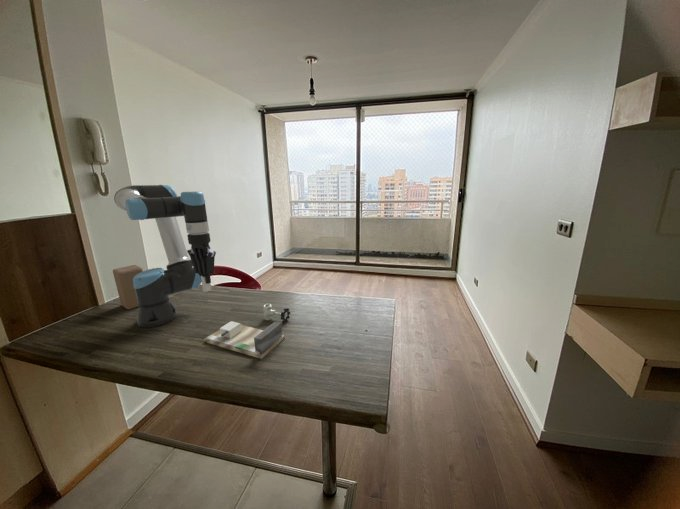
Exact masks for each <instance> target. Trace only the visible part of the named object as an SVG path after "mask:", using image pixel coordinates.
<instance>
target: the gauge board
mask: <svg viewBox="0 0 680 509" xmlns="http://www.w3.org/2000/svg"><path fill="white" fill-rule="evenodd" d="M285 338H286V337H285V335H284V334H282V322H277V321H273V323H271V324H270V325H269V326H267V327H266V328H265V329H263V330H262V329H259V328H256V327H252V326H249V325H248V326H247V325H244V324H241V332H239V333H238V334H236V335H235V336H234V337H232V338H231V339H230V338H226V337H223V336H221V333H220V329H218V330H217V331H216V332H213V333H212V334H210V335H208V336H206V337H205V338H204V342H205V343H207V344H211V345H214V346H217V347H220V348H224V349H226V350H230V351H234V352H237V353H240V354H243V355H247V356H250V357H254V358H257V359H260V360H263V359H264V358H265V357H266V356H268V354H269V353H271V351H273V350H274V348H276V347H277V346H278V345H279V344H280V343H281V342H282V341H284V339H285Z"/></svg>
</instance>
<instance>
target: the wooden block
mask: <svg viewBox="0 0 680 509" xmlns="http://www.w3.org/2000/svg"><path fill="white" fill-rule="evenodd" d="M143 271H144V270H143V268H142V267H140V266H139V265H136V264H133V265H127V266H123V267H122V266H121V267H118V268H114V269H112V274H113V278H114V282H115V286H116V290H117V292H118V293H117V294H118V297H119V301H120V305H121V306H122V307H124V308H125V309H126V310H132V309H134V308H139V306H138V301H137V297H136V292H135V289H134V284H133V278H134V276H135V275H137V274H138V273H140V272H143Z"/></svg>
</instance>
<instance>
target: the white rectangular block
mask: <svg viewBox="0 0 680 509" xmlns="http://www.w3.org/2000/svg"><path fill="white" fill-rule="evenodd" d="M241 325H242V323H240V322H236V321H232V320H231V321H229V322H228V323H225V325H222V326H221V327H220V328H219V330H220V333H221V336H223V337H226V338H230V339H231V338H232V337H234V336H235V335H236V334H238V333H239V332H241Z"/></svg>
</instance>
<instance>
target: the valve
mask: <svg viewBox="0 0 680 509" xmlns="http://www.w3.org/2000/svg"><path fill="white" fill-rule="evenodd" d="M272 306H273V305H272V304H271V303H266V304H264V305H263V316H264V320H265V321H270V320H273V318H274V317H276V316H277V317H280V320H282V321H281V324H282V323H283V324H284V323H288V320H289V319H290V318H291V317H290V314H291V311H290V308H283V311H281V312H280V311H277V310H276V309H272V308H273V307H272Z"/></svg>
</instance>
